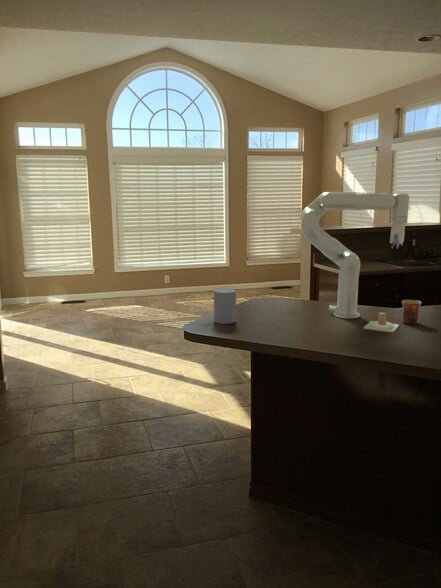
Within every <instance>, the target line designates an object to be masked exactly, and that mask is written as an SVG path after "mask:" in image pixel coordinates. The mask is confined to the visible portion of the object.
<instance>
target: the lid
mask: <svg viewBox="0 0 441 588" xmlns="http://www.w3.org/2000/svg"><path fill="white" fill-rule="evenodd" d="M387 315H388V313H386V312H383V311H382V312H380V311H379V312H378V317H377V320H375V321H373V320H372V321H373V322H371V324H370V326H372V327H374V328H379V329H391V328H393V324H394V323H392V322H389V321H387Z"/></svg>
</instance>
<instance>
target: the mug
mask: <svg viewBox="0 0 441 588" xmlns="http://www.w3.org/2000/svg"><path fill="white" fill-rule="evenodd" d="M401 304H402V315H401V319H402V323H404V324H405V325H410V324H412V325H413V324H414V325H418V323H419V320H420V308H421V305H422V302H421V301H420V300H416V299H415V300H414V299H403V300H401Z"/></svg>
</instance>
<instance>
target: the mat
mask: <svg viewBox="0 0 441 588" xmlns="http://www.w3.org/2000/svg"><path fill="white" fill-rule="evenodd" d="M371 322H373V320H370V321H369V322H368V323H367V324H365V325H364V326H363V329H364V330H369V331H370V330H371V331H378V332H387V333H392V334H393V333H395V331H397V330H398V328H399V326H400V324H397V323H392V324H393V328H391V329H379V328H374V327H372V326H370V324H371Z"/></svg>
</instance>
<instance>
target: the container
mask: <svg viewBox="0 0 441 588" xmlns="http://www.w3.org/2000/svg"><path fill="white" fill-rule="evenodd" d="M236 305H237V290H236V289H233V288H225V287H224V288H216V289H214V290H213V322H214V323H215V324H218V325H230V324H234V323H236V319H237V317H236V316H237V312H236V311H237V306H236Z"/></svg>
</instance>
